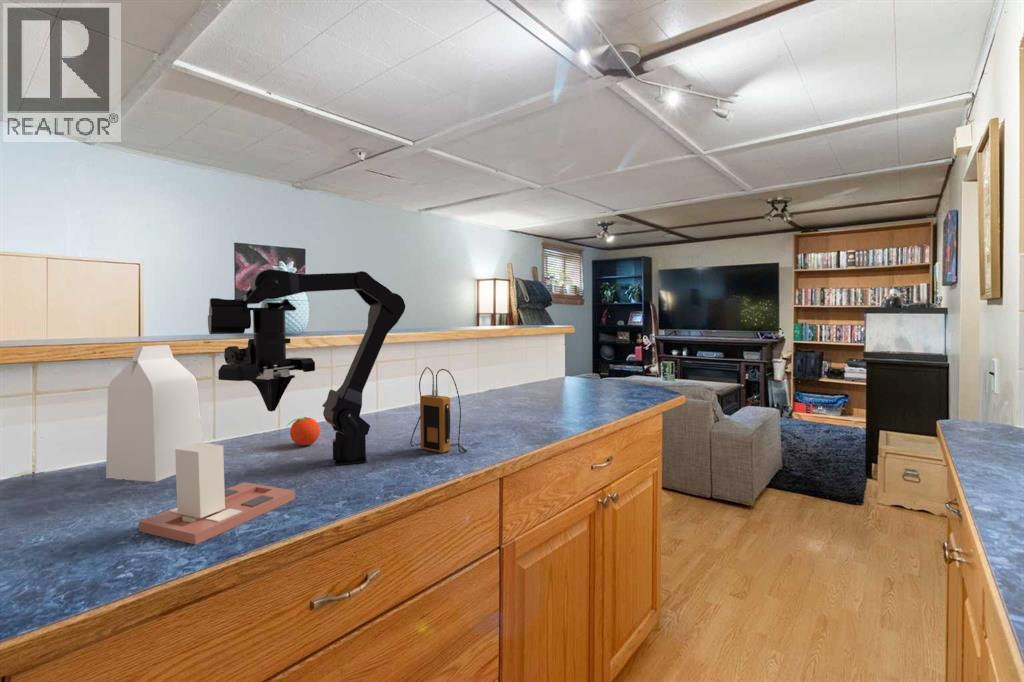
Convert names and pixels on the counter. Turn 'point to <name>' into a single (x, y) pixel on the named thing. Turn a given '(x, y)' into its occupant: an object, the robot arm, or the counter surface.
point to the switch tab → (199, 481)
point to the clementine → (304, 431)
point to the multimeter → (436, 420)
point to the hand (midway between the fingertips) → (271, 411)
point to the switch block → (219, 514)
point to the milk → (150, 416)
